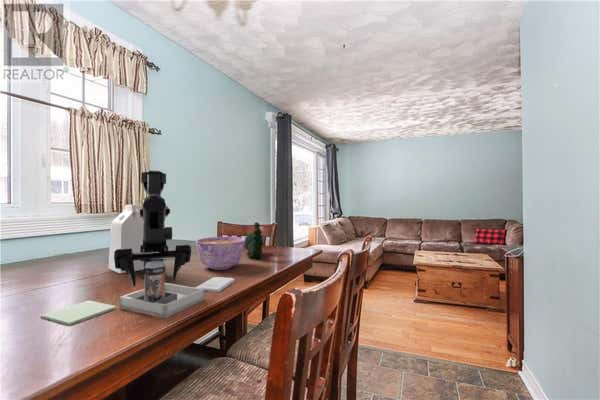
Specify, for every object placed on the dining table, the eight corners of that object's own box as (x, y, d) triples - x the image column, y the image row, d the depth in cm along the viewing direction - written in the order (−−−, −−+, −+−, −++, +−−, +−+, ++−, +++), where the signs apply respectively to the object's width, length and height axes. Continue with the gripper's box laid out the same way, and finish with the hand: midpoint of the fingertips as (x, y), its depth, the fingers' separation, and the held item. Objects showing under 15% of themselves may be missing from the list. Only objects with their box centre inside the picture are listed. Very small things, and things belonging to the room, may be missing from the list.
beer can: (144, 312, 74) (144, 265, 74) (144, 306, 78) (144, 261, 78) (165, 309, 76) (165, 263, 76) (164, 303, 80) (164, 259, 80)
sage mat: (40, 317, 70) (40, 315, 70) (89, 302, 80) (89, 300, 80) (69, 325, 66) (69, 322, 66) (116, 308, 76) (116, 306, 76)
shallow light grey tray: (119, 308, 76) (119, 296, 76) (163, 292, 89) (163, 282, 89) (164, 318, 70) (165, 305, 70) (204, 299, 83) (204, 289, 83)
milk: (151, 268, 120) (151, 204, 120) (120, 273, 111) (120, 205, 111) (138, 263, 127) (138, 204, 127) (108, 268, 118) (108, 204, 118)
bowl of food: (196, 275, 108) (196, 244, 108) (194, 264, 127) (194, 237, 127) (249, 271, 115) (249, 242, 115) (240, 261, 134) (241, 235, 134)
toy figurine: (267, 264, 134) (260, 250, 158) (268, 224, 132) (261, 216, 156) (246, 266, 132) (242, 251, 156) (247, 224, 130) (243, 216, 154)
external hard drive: (234, 282, 102) (218, 294, 90) (213, 281, 103) (193, 292, 91) (234, 278, 102) (218, 289, 90) (213, 276, 103) (193, 287, 91)
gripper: (114, 218, 76) (109, 269, 66) (190, 216, 85) (195, 262, 75) (117, 244, 83) (113, 294, 73) (187, 240, 92) (191, 284, 82)
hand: (154, 283), depth 76 cm, fingers open, 9 cm apart
